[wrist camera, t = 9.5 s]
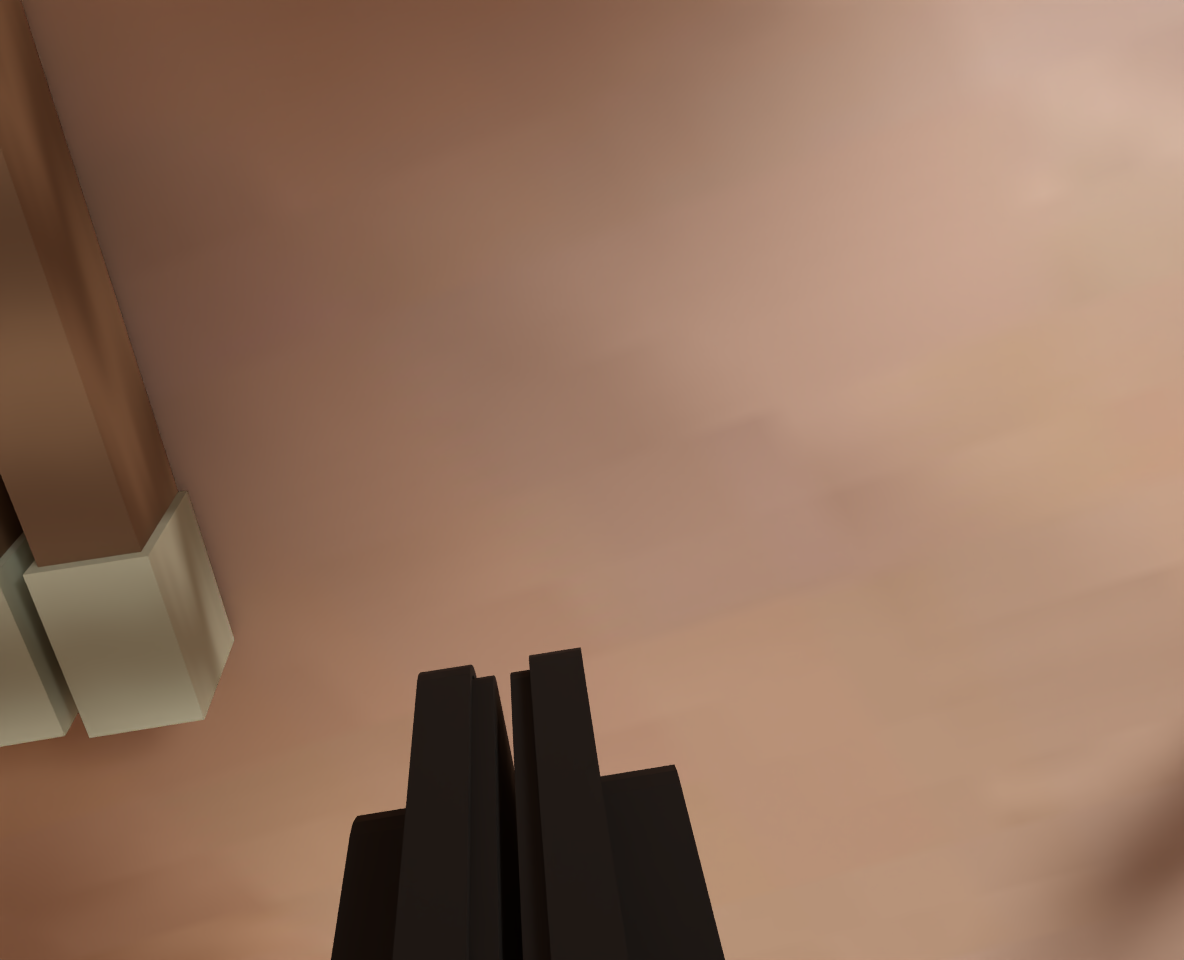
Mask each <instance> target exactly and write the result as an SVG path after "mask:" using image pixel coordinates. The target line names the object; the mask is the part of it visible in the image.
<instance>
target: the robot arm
mask: <svg viewBox="0 0 1184 960" xmlns="http://www.w3.org/2000/svg"><path fill="white" fill-rule="evenodd" d="M529 665H530V670H525V671H519V672H513V673H511V674H510V680H511V702H512V724H513V747H514V766H513V761H512V756H511V751H510V746H509V741H508V736H507V731H506V726H505V721H504V716H503V711H502V706H501V701H500V696H499V691H498V686H497V682H496V678H495V676H487V677H481V678H476V673H475V670H474V667H473V666H472V665H466V666H460V667H453V668H447V669H440V670H434V671H428V672H421V673H420V674H419V675H418V680H417V689H416V701H415V712H414V723H413V734H412V745H411V757H410V768H409V779H408V790H407V802H406V808H404V809H398V810H391V811H385V812H379V813H373V814H367V815H361V816H357V817H356V819H355V820H354V822H353V825H352V829H351V833H350V838H349V845H348V851H347V858H346V864H345V871H344V878H343V884H342V891H341V897H340V904H339V911H338V917H337V924H336V930H335V937H334V943H333V950H332V957H331V960H725V958H724V954H723V950H722V946H721V942H720V938H719V934H718V930H717V926H716V922H715V919H714V915H713V911H712V907H711V903H710V899H709V895H708V891H707V887H706V883H705V879H704V875H703V871H702V867H701V863H700V859H699V855H698V851H697V847H696V843H695V839H694V835H693V831H692V827H691V823H690V819H689V815H688V811H687V807H686V803H685V800H684V796H683V792H682V788H681V784H680V780H679V776H678V773H677V770H676V767H675V765H669V766H662V767H656V768H650V769H644V770H638V771H632V772H625V773H619V774H613V775H607V776H601V777H600V772H599V765H598V758H597V752H596V745H595V739H594V732H593V726H592V719H591V713H590V706H589V700H588V693H587V687H586V680H585V673H584V667H583V660H582V654H581V647H580V648H574V649H568V650H561V651H555V652H549V653H542V654H536V655H529ZM514 769H515V771H514Z"/></svg>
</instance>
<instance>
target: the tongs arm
mask: <svg viewBox="0 0 1184 960" xmlns="http://www.w3.org/2000/svg"><path fill="white" fill-rule="evenodd" d="M0 474H1V477H2V479H3V482H4V484H5V487H6V489H7V492H8V494H9V496H10V499H11V501H12V504H13V506H14V509H15V511H16V514H17V516H18V519H19V521H20V524H21V526H22V529H23V531H24V534H25V536H26V539H27V541H28V544H29V546H30V549H31V551H32V554H33V556H34V559H35V560H34V562H33V563H32V564H31V565H30V567H29V568H28V569H27V570H26V572H25V573H24V574H23V577H24V580H25V582H26V584H27V587H28V589H29V592H30V594H31V597H32V599H33V602H34V604H35V606H36V609H37V611H38V614H39V616H40V619H41V621H42V623H43V626H44V628H45V631H46V633H47V636H48V638H49V641H50V643H51V645H52V648H53V650H54V653H55V655H56V658H57V660H58V662H59V665H60V667H61V670H62V672H63V675H64V677H65V680H66V682H67V684H68V687H69V689H70V692H71V694H72V697H73V699H74V701H75V704H76V706H77V709H78V711H79V714H80V716H81V719H82V721H83V723H84V726H85V728H86V731H87V733H88V736H89V738H93V737H99V736H106V735H112V734H118V733H124V732H130V731H137V730H143V729H149V728H155V727H162V726H168V725H174V724H180V723H186V722H193V721H199V720H204V719H205V717H206V714H207V711H208V709H209V706H210V703H211V701H212V698H213V696H214V693H215V690H216V688H217V685H218V682H219V680H220V677H221V674H222V672H223V669H224V666H225V664H226V661H227V658H228V656H229V653H230V650H231V648H232V645H233V642H234V637H233V634H232V631H231V627H230V624H229V621H228V618H227V615H226V612H225V608H224V605H223V602H222V599H221V596H220V593H219V589H218V586H217V583H216V580H215V577H214V574H213V570H212V567H211V564H210V561H209V558H208V555H207V551H206V548H205V545H204V542H203V539H202V536H201V532H200V529H199V526H198V523H197V520H196V517H195V513H194V510H193V507H192V504H191V501H190V498H189V494H188V491H181V492H178V490H177V487H176V483H175V480H174V477H173V474H172V471H171V468H170V465H169V462H168V458H167V455H166V452H165V449H164V446H163V443H162V440H161V437H160V434H159V430H158V427H157V424H156V421H155V418H154V415H153V412H152V409H151V405H150V402H149V399H148V396H147V393H146V390H145V387H144V384H143V380H142V377H141V374H140V371H139V368H138V365H137V362H136V359H135V356H134V352H133V349H132V346H131V343H130V340H129V337H128V334H127V331H126V327H125V324H124V321H123V318H122V315H121V312H120V309H119V306H118V302H117V299H116V296H115V293H114V290H113V287H112V284H111V281H110V277H109V274H108V271H107V268H106V265H105V262H104V259H103V256H102V253H101V249H100V246H99V243H98V240H97V237H96V234H95V231H94V228H93V224H92V221H91V218H90V215H89V212H88V209H87V206H86V203H85V199H84V196H83V193H82V190H81V187H80V184H79V181H78V178H77V175H76V171H75V168H74V165H73V162H72V159H71V156H70V153H69V150H68V146H67V143H66V140H65V137H64V134H63V131H62V128H61V125H60V121H59V118H58V115H57V112H56V109H55V106H54V103H53V100H52V96H51V93H50V90H49V87H48V84H47V81H46V78H45V75H44V72H43V68H42V65H41V62H40V59H39V56H38V53H37V50H36V47H35V43H34V40H33V37H32V34H31V31H30V28H29V25H28V22H27V18H26V15H25V12H24V9H23V6H22V3H21V0H0Z"/></svg>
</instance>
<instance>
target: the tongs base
mask: <svg viewBox="0 0 1184 960" xmlns="http://www.w3.org/2000/svg"><path fill="white" fill-rule="evenodd" d="M34 560H35V559H34V556H33V554H32V551H31V549H30V546H29V544H28V541H27V539H26V536H25V534H24V531H23V529H22V526H21V524H20V521H19V519H18V516H17V514H16V511H15V509H14V506H13V504H12V501H11V499H10V496H9V494H8V492H7V489H6V487H5V484H4V482H3V479H2V477H1V474H0V747H2V746H8V745H14V744H20V743H26V742H32V741H38V740H44V739H50V738H56V737H62V736H65V735H66V733H67V732H68V730H69V728H70V726H71V724H72V723H73V721H74V719H75V717H76V716H77V714H78V712H79V711H78V709H77V706H76V704H75V701H74V699H73V697H72V694H71V692H70V689H69V687H68V684H67V682H66V680H65V677H64V675H63V672H62V670H61V667H60V665H59V662H58V660H57V658H56V655H55V653H54V650H53V648H52V645H51V643H50V641H49V638H48V636H47V633H46V631H45V628H44V626H43V623H42V621H41V619H40V616H39V614H38V611H37V609H36V606H35V604H34V602H33V599H32V597H31V594H30V592H29V589H28V587H27V584H26V582H25V580H24V577H23V574H24V573H25V572H26V570H27V569H28V568H29V567H30V565H31V564H32V563H33V562H34Z"/></svg>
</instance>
